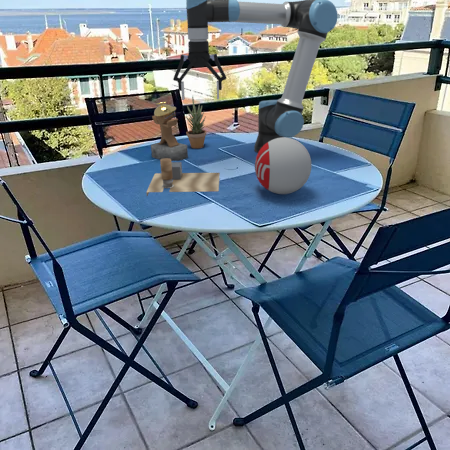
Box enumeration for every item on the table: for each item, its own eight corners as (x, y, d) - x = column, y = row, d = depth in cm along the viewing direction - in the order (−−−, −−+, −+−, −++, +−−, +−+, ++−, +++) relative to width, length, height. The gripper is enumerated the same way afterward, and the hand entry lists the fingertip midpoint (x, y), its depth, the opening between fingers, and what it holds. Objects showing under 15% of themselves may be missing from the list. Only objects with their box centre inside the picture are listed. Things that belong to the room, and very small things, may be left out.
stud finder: (182, 174, 178) (181, 161, 176) (180, 179, 173) (179, 166, 171) (164, 174, 178) (163, 161, 176) (162, 179, 173) (161, 166, 171)
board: (219, 176, 180) (219, 172, 179) (218, 195, 162) (218, 191, 161) (155, 176, 180) (154, 173, 180) (146, 196, 162) (146, 192, 162)
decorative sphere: (253, 182, 173) (254, 131, 164) (305, 182, 172) (309, 130, 163) (255, 203, 155) (256, 146, 146) (313, 202, 154) (317, 146, 145)
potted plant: (189, 143, 223) (186, 92, 212) (208, 144, 222) (206, 92, 211) (185, 149, 214) (182, 96, 203) (204, 150, 213) (202, 96, 202)
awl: (173, 183, 169) (171, 158, 164) (172, 187, 165) (170, 161, 161) (163, 183, 169) (160, 158, 164) (161, 187, 165) (159, 161, 161)
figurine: (189, 157, 203) (186, 101, 192) (171, 163, 196) (167, 105, 185) (169, 151, 212) (165, 97, 201) (151, 157, 204) (145, 101, 193)
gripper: (231, 39, 169) (232, 96, 179) (166, 40, 170) (170, 97, 179) (232, 40, 162) (232, 100, 172) (163, 41, 163) (167, 101, 172)
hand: (200, 99), depth 175 cm, fingers open, 13 cm apart
